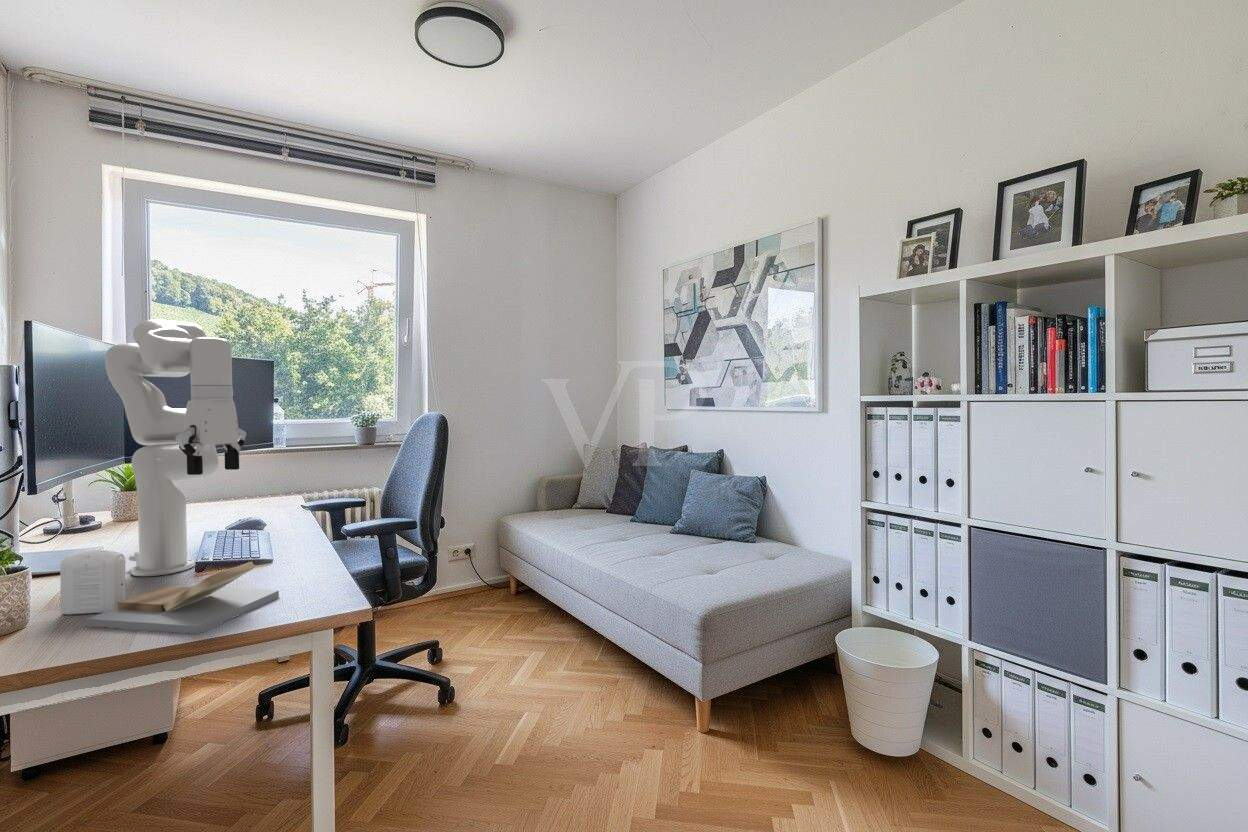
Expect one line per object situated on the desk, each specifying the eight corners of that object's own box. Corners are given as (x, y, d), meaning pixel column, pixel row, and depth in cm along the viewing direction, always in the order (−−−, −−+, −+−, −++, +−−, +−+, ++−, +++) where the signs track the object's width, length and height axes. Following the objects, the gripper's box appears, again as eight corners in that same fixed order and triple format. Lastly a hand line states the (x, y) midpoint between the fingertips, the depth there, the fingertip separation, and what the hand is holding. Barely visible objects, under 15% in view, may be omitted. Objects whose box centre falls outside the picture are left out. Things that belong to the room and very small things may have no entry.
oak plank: (166, 611, 112) (162, 604, 112) (210, 594, 122) (207, 588, 122) (214, 582, 111) (210, 575, 111) (255, 567, 120) (251, 561, 121)
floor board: (86, 626, 109) (86, 618, 109) (182, 591, 129) (182, 585, 129) (197, 634, 106) (197, 626, 106) (278, 597, 125) (278, 590, 125)
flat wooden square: (117, 609, 114) (117, 601, 114) (165, 592, 124) (165, 585, 124) (161, 612, 113) (161, 604, 112) (206, 595, 122) (206, 588, 122)
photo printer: (130, 605, 121) (128, 546, 120) (117, 612, 116) (115, 551, 116) (71, 609, 118) (70, 549, 118) (56, 617, 114) (54, 555, 114)
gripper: (228, 395, 136) (230, 467, 137) (160, 393, 119) (162, 476, 120) (257, 394, 135) (259, 467, 136) (192, 393, 118) (195, 476, 119)
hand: (214, 471), depth 128 cm, fingers open, 9 cm apart
